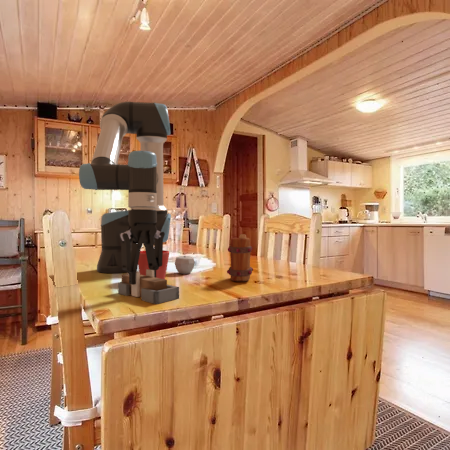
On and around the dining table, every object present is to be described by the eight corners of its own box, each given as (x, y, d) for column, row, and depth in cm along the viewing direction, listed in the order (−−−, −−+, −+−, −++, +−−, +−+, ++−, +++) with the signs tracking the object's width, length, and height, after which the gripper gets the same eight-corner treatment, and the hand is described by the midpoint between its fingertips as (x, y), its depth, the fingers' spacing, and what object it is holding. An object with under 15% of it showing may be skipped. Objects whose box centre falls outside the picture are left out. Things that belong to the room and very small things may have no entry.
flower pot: (157, 276, 119) (157, 248, 119) (175, 280, 112) (175, 251, 111) (130, 280, 112) (130, 251, 112) (148, 285, 104) (147, 254, 104)
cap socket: (141, 300, 86) (141, 288, 86) (164, 294, 92) (164, 283, 92) (155, 304, 82) (155, 292, 82) (179, 298, 88) (179, 287, 88)
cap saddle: (118, 293, 93) (118, 282, 93) (141, 288, 99) (141, 278, 99) (126, 295, 91) (126, 284, 91) (149, 290, 96) (149, 280, 96)
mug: (250, 283, 106) (250, 236, 105) (225, 282, 107) (225, 236, 107) (255, 275, 120) (255, 233, 120) (233, 274, 122) (233, 233, 121)
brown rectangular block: (121, 292, 95) (121, 274, 95) (133, 290, 98) (133, 273, 98) (154, 301, 85) (154, 282, 85) (166, 298, 88) (166, 279, 88)
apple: (178, 275, 120) (178, 257, 120) (171, 272, 127) (170, 255, 126) (199, 273, 124) (198, 256, 124) (190, 270, 131) (190, 254, 130)
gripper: (122, 207, 82) (122, 302, 83) (176, 209, 95) (176, 291, 95) (106, 208, 87) (106, 298, 87) (159, 209, 100) (159, 287, 100)
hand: (143, 294), depth 91 cm, fingers open, 4 cm apart
